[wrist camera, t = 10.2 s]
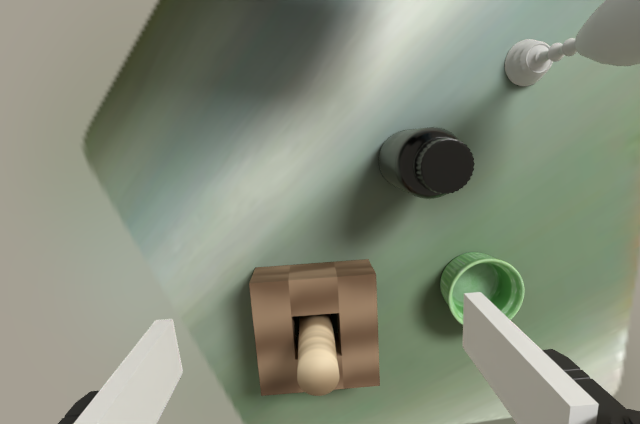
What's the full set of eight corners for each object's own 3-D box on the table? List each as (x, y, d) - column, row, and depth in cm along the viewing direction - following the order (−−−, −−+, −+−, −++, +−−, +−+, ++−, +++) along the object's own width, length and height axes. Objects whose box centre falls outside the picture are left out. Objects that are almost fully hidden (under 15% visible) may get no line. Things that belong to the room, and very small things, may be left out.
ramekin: (432, 253, 44) (446, 265, 40) (502, 242, 44) (524, 253, 40) (437, 318, 46) (451, 336, 42) (505, 307, 46) (525, 325, 42)
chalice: (535, 15, 39) (725, -90, 21) (569, 63, 40) (775, 2, 23) (483, 62, 40) (626, -2, 22) (518, 108, 41) (680, 82, 23)
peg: (298, 302, 44) (295, 359, 33) (330, 299, 45) (338, 356, 33) (300, 331, 45) (298, 397, 34) (331, 328, 45) (340, 394, 34)
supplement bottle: (383, 194, 42) (414, 213, 31) (372, 137, 41) (399, 135, 29) (439, 180, 42) (491, 195, 30) (429, 123, 41) (479, 116, 29)
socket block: (255, 267, 43) (249, 283, 38) (368, 259, 44) (375, 273, 39) (265, 368, 46) (261, 395, 41) (371, 359, 47) (379, 385, 42)
